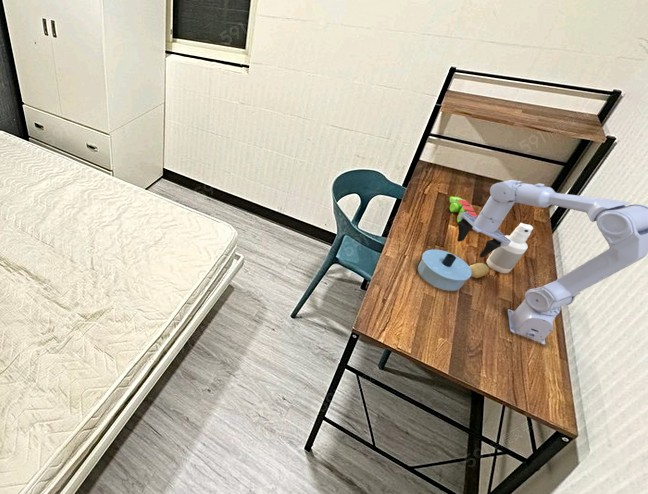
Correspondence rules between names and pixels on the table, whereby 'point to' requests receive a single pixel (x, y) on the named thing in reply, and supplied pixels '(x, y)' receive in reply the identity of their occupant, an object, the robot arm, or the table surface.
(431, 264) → the lid
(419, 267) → the pot
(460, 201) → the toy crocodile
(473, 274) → the potato
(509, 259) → the spray bottle
